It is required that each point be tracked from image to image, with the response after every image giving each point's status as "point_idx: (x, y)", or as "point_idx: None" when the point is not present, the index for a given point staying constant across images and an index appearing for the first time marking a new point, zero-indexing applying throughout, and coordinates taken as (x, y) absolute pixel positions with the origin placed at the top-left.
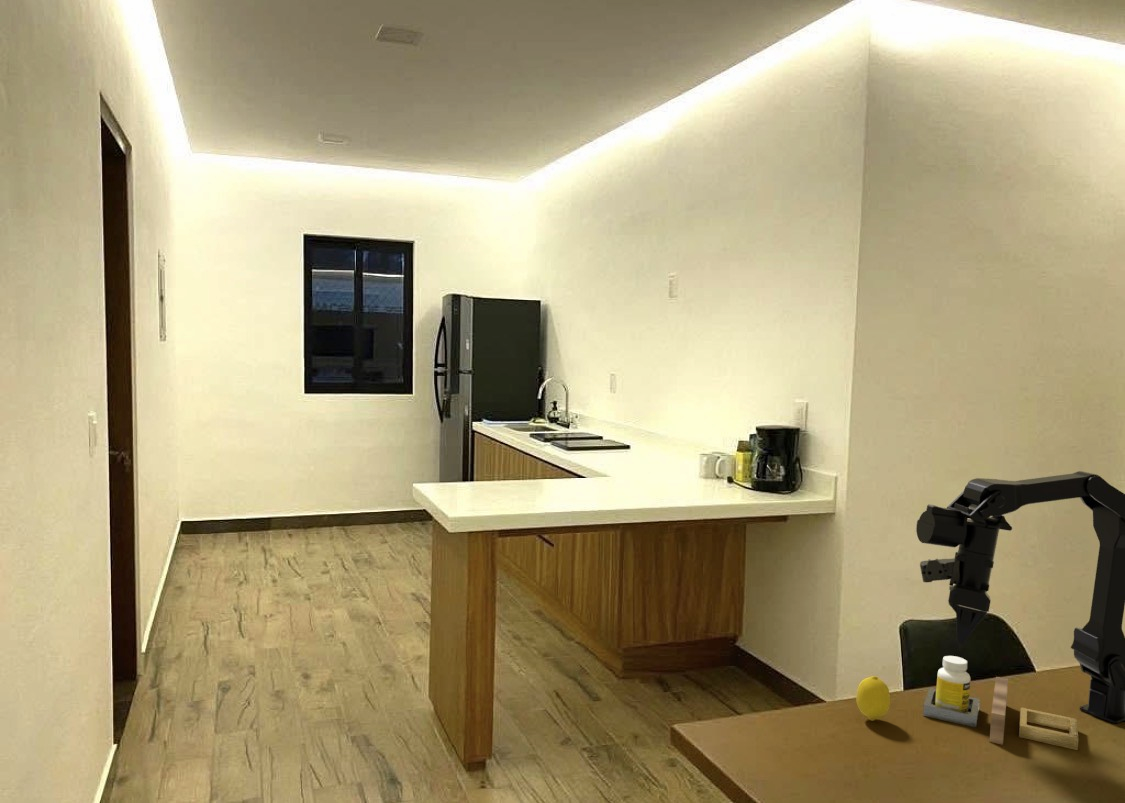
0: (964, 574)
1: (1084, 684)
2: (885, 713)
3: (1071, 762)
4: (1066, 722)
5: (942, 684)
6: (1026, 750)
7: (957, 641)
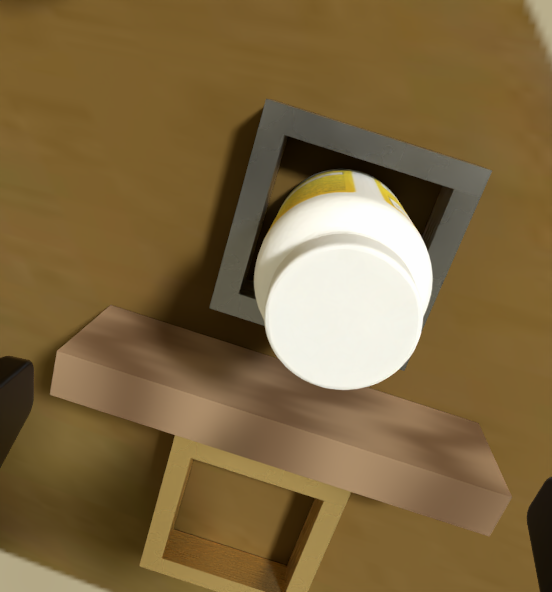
0: None
1: None
2: None
3: (62, 492)
4: (286, 581)
5: (292, 203)
6: None
7: (2, 361)
